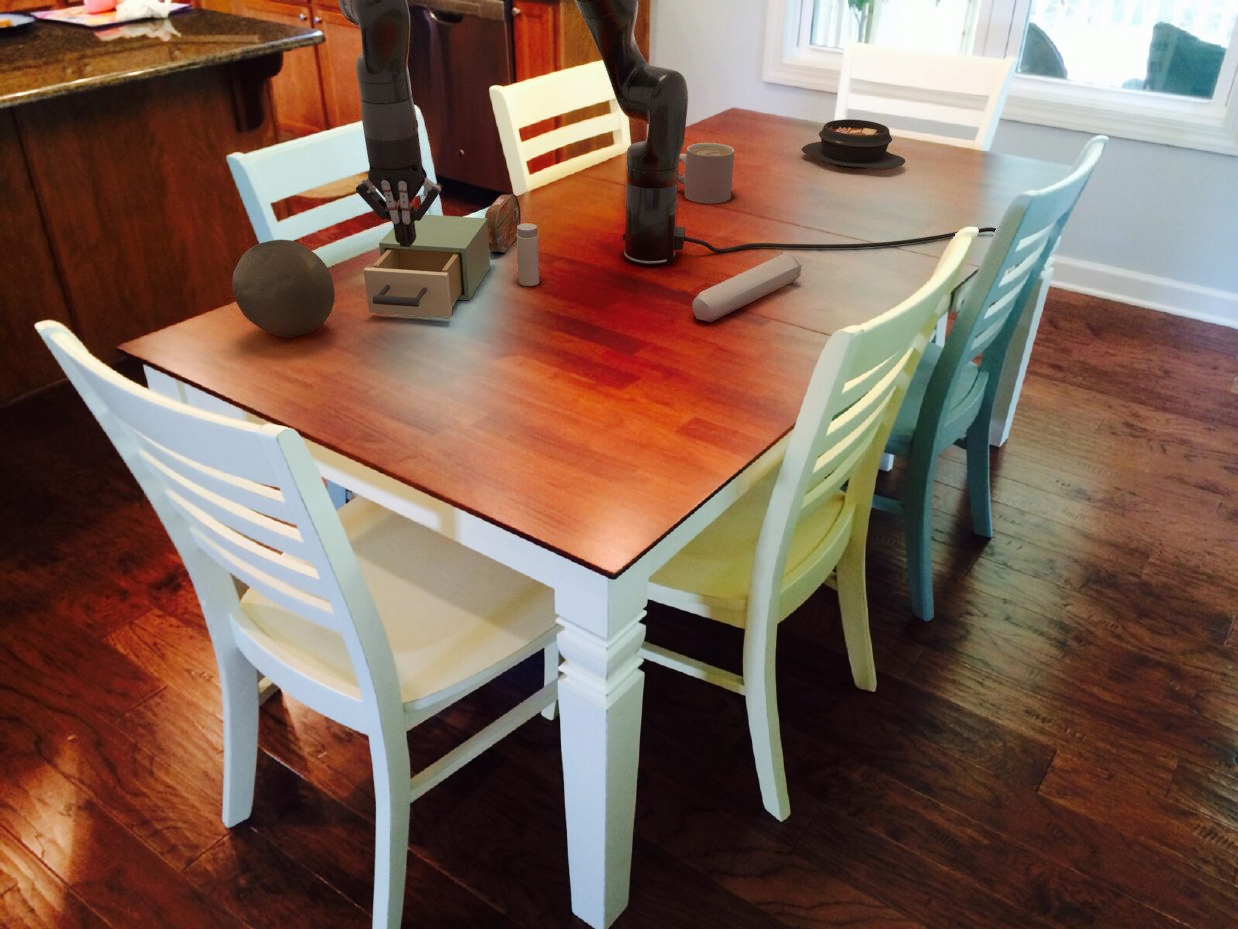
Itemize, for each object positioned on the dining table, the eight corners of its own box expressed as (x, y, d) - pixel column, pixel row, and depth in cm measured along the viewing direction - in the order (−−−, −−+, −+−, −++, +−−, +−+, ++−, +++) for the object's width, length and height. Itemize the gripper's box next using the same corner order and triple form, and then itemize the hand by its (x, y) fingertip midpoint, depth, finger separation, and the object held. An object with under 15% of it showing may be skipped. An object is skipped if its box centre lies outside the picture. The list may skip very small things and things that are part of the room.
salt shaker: (541, 278, 173) (539, 223, 168) (537, 286, 171) (535, 230, 165) (521, 277, 174) (518, 222, 168) (516, 285, 171) (514, 229, 165)
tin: (499, 259, 181) (497, 214, 176) (483, 257, 181) (480, 212, 177) (522, 231, 193) (521, 188, 188) (507, 229, 194) (505, 187, 189)
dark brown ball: (263, 315, 159) (245, 225, 151) (350, 318, 159) (337, 227, 151) (231, 355, 147) (210, 260, 139) (325, 358, 147) (310, 262, 139)
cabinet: (469, 300, 165) (465, 248, 160) (385, 294, 167) (378, 242, 162) (490, 267, 177) (487, 218, 172) (411, 262, 179) (406, 213, 174)
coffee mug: (738, 194, 214) (742, 147, 208) (716, 206, 207) (720, 158, 201) (684, 183, 220) (687, 137, 214) (662, 194, 213) (663, 147, 207)
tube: (715, 307, 155) (806, 263, 170) (691, 287, 157) (783, 246, 172) (705, 333, 159) (794, 287, 174) (681, 313, 161) (772, 270, 176)
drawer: (440, 334, 152) (436, 289, 148) (356, 327, 154) (350, 283, 150) (472, 285, 168) (469, 244, 164) (395, 280, 170) (391, 239, 166)
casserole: (785, 161, 235) (789, 125, 231) (824, 145, 247) (828, 110, 243) (881, 183, 222) (887, 145, 218) (917, 164, 234) (924, 128, 230)
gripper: (336, 136, 137) (356, 253, 147) (429, 139, 136) (443, 257, 146) (354, 119, 143) (372, 233, 153) (443, 122, 142) (456, 236, 152)
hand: (407, 244), depth 150 cm, fingers closed
